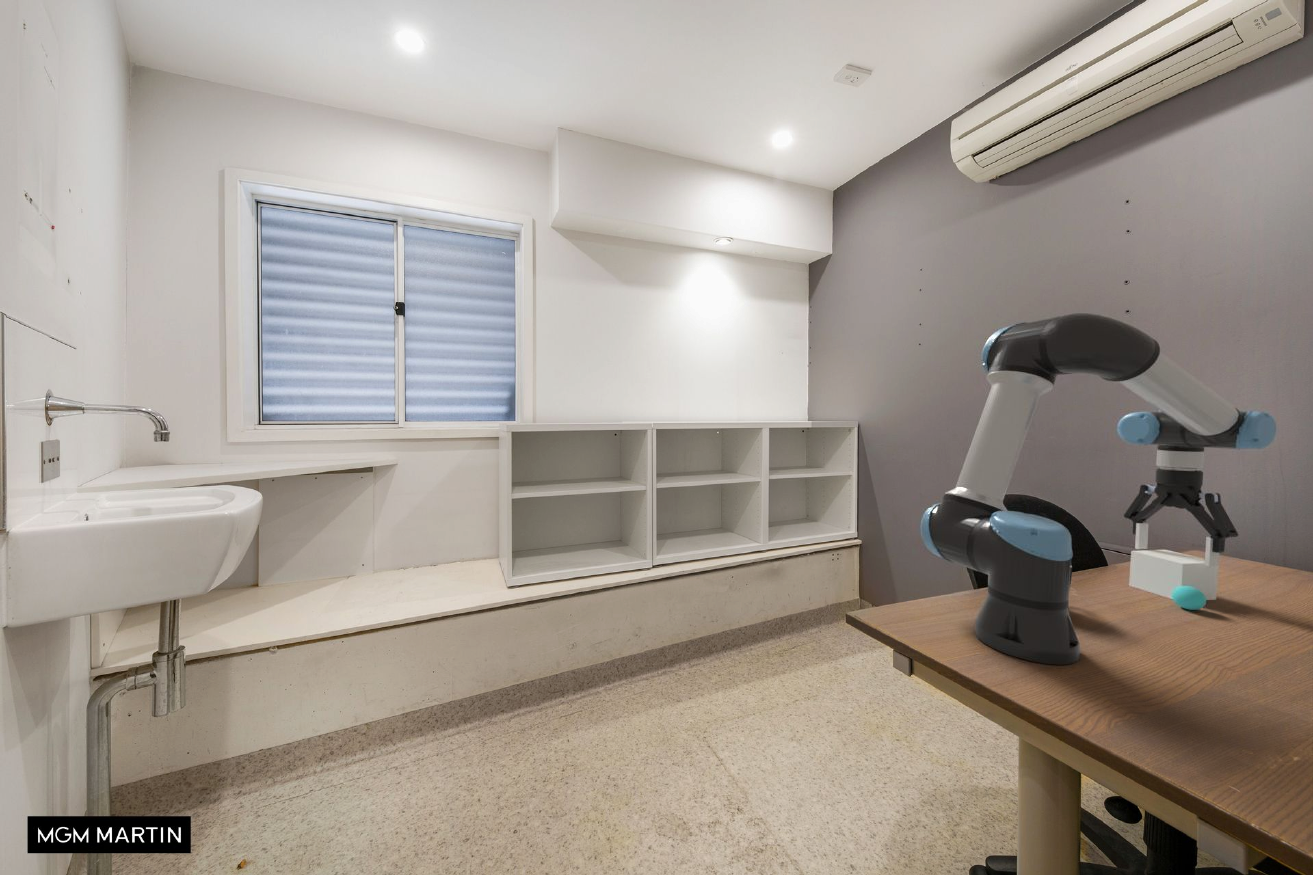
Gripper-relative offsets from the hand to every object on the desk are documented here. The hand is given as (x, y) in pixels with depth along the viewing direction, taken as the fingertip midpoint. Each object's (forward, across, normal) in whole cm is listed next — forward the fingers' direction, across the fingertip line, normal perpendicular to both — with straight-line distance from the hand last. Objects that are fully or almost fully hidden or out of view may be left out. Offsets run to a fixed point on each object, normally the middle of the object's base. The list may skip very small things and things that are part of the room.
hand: (1174, 556), depth 113 cm
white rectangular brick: (+9, 0, 0) cm, 9 cm away
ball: (+6, -9, +9) cm, 14 cm away
